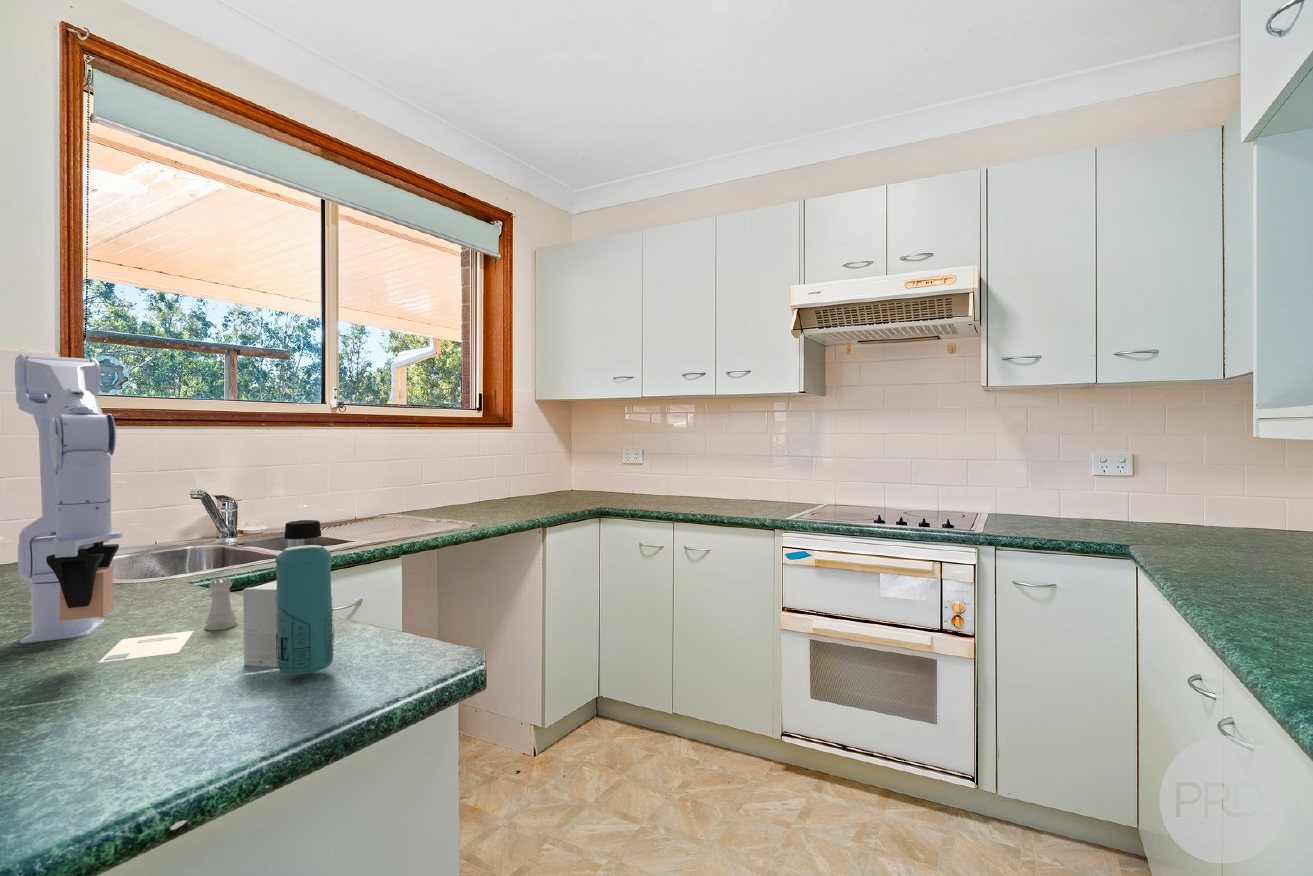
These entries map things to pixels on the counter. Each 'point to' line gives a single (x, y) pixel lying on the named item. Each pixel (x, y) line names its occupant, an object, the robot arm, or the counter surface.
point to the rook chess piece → (220, 606)
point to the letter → (147, 646)
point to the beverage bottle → (304, 603)
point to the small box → (260, 625)
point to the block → (99, 601)
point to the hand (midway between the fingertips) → (85, 602)
